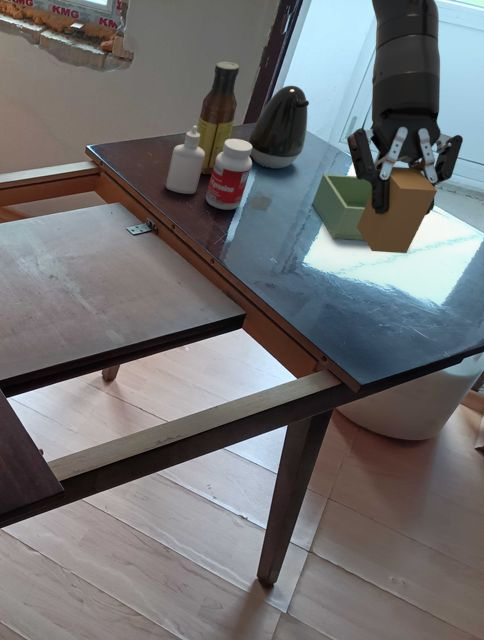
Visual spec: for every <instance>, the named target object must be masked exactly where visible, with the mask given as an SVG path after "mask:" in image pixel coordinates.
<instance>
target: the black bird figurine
mask: <svg viewBox="0 0 484 640" xmlns="http://www.w3.org/2000/svg"><path fill="white" fill-rule="evenodd" d="M306 97H307V96H306V94H305V92H304V91H303V90H302V89H301V87H299V86H296V85H287V86H283V87H282V88H280V89H279V90H278V91H277V92H276V93H275V94H274V95H273V96H272V97H271V98H270V99H269V101H268V102H267V104H266V105H265V106H264V108H263V110H262V111H261V114H259V117H258V118H257V120H256V122H255V124H254V126H253V128H252V131H251V133H250V136H249V140H248V142H249V143H250V144H251V145H252V151H251V154H250V156H251V158H252V160H254V161H255V162H256V163H257V164H258V165H260V164H261V165H260V166H262V165H264V166H267V167H266V168H268V167H273V168H272V169H282V168H285V167H288V166H289V165H291V164H293V163H294V162H295V161H296V159H297V158H298V156H299V155H301V154H302V152H303V150H304V145H305V142H306V136H307V129H308V106H310V105H309V104H310V102H309V100H307V98H306ZM264 166H263V167H264Z"/></svg>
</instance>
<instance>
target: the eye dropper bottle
mask: <svg viewBox="0 0 484 640" xmlns="http://www.w3.org/2000/svg"><path fill="white" fill-rule="evenodd" d="M197 128H198V125H193V126H192V127H191V130H190V131H187V132H186V134H185V138H184V143H181V144H178V145H176V146H174V148H173V151H172V155H171V159H170V164H169V167H168V168H169V169H168V173H167V177H166V183H165V188H166V189H167V190H168V191H171V192H174V193H178V194H184V195H193V194H195V193H196V192H197V190H198V185H199V181H200V177H201V175H202V174H201V170H202V165H203V161H204V157H205V152H204V150H203V149H201V148H200V147H198V143H199V139H200V134H199V133H197Z"/></svg>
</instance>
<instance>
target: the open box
mask: <svg viewBox="0 0 484 640" xmlns="http://www.w3.org/2000/svg"><path fill="white" fill-rule="evenodd" d="M371 193H372V185H371V183H370V182H368V181H366V180H364V179H363V180H359V179H357V177H356V175H343V174H330V173H329V174H327V173H322V177H321V179H320V182H319V184H318V187H317V190H316V192H315V195H314V198H313V200H312V205H313V207H314V206H315V207H314V208H315V209H316V212H317V214H318V215H319V217H320V219H321V220H322V222H323V224H324V225H325V227H326V230H328V233H329V234H330V236H331V237H332V239H338V240H339V239H340V240H354V241H365V240H364V238H363V236H362V235H361V233H360V232H359V230H358V229H357V225H358V223H359V221H360V218H361V216H362V214H363V211H364V209H365V207H366V204H367V202H368V200H369V197H370V195H371Z"/></svg>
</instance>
